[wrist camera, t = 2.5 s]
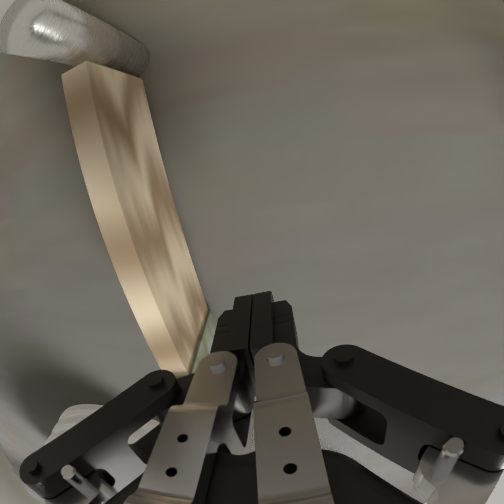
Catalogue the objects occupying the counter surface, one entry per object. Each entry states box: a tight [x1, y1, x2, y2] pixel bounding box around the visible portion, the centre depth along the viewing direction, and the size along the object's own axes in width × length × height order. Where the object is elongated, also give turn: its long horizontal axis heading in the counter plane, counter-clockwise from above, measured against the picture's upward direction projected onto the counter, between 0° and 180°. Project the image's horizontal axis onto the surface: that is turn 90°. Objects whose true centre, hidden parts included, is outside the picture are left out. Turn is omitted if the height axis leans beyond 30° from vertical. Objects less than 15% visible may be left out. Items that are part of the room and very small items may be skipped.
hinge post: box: [0, 0, 149, 77], centre depth 12 cm, size 3×3×12 cm
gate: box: [61, 61, 216, 379], centre depth 18 cm, size 20×2×8 cm, turn 13°
